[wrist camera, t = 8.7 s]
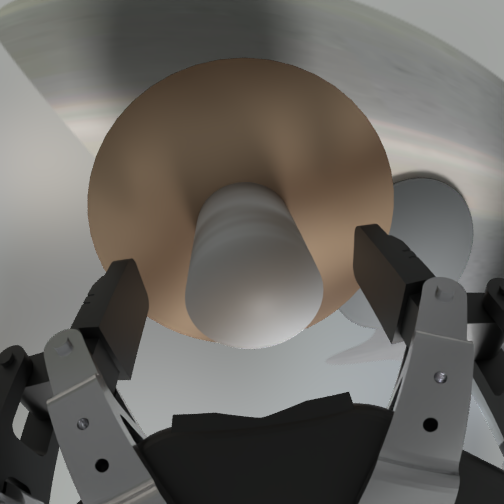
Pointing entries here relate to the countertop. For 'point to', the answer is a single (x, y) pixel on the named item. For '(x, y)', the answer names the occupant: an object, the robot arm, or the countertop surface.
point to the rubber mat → (424, 236)
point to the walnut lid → (240, 198)
